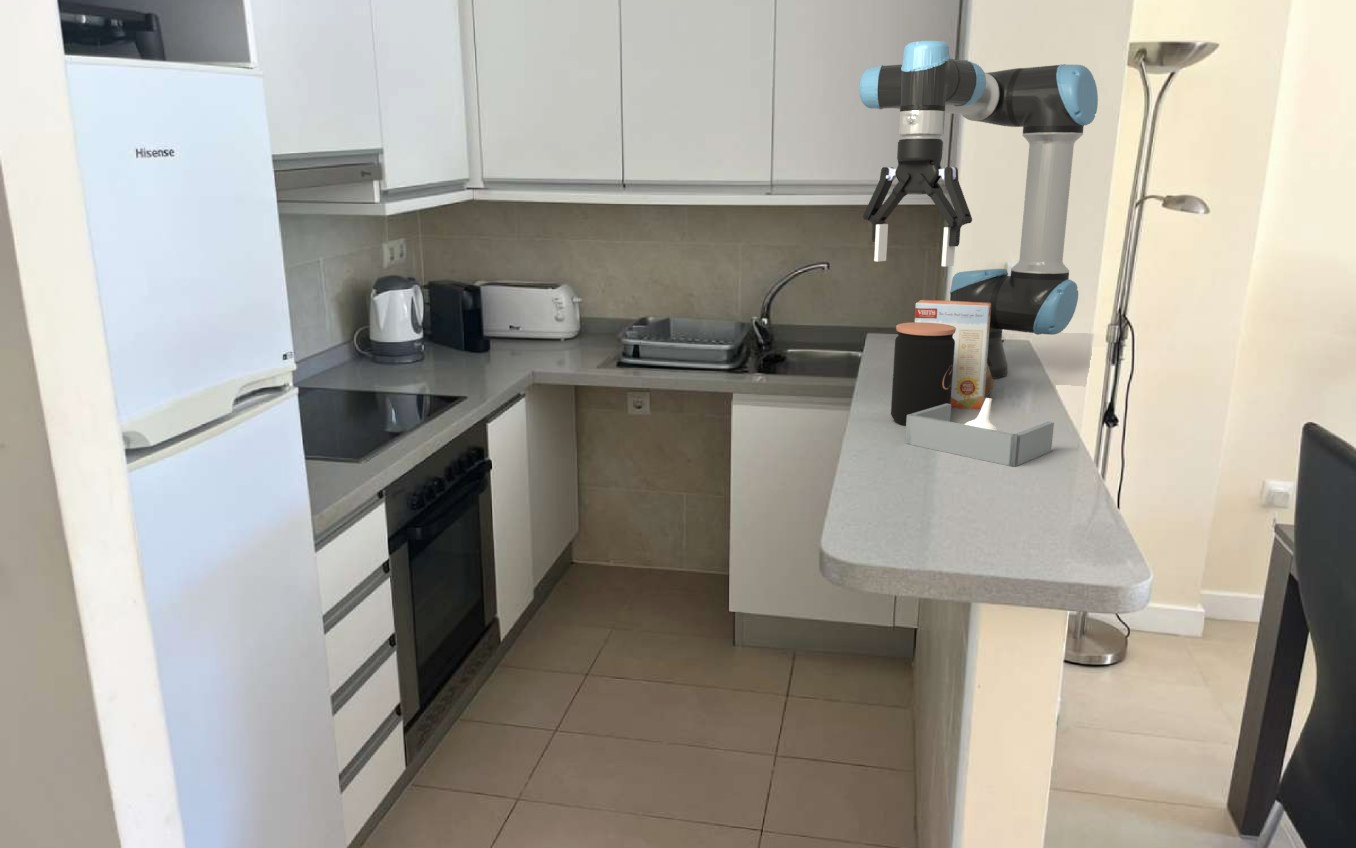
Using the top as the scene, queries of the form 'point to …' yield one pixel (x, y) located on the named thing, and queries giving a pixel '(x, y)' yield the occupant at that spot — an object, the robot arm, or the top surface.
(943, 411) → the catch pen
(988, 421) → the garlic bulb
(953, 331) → the coffee jar
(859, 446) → the top surface
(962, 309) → the cracker box
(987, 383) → the brown block
